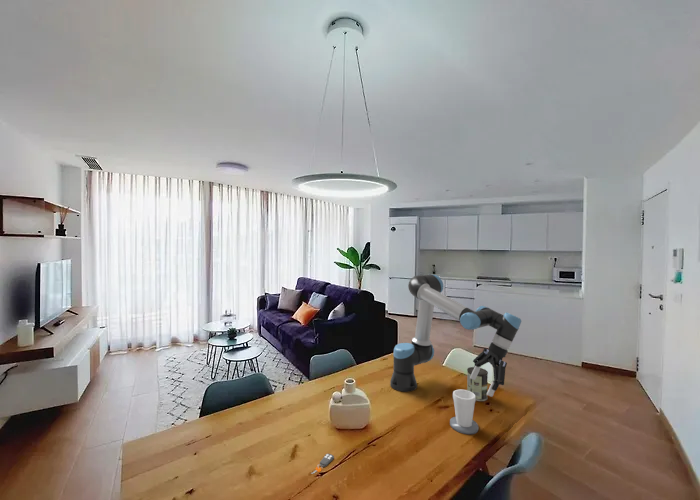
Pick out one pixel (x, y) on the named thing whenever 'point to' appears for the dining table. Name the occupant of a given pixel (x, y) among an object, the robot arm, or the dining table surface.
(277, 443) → the dining table surface
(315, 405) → the dining table surface
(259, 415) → the dining table surface
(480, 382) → the coffee can
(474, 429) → the trivet
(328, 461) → the key chain
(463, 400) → the foam cup
